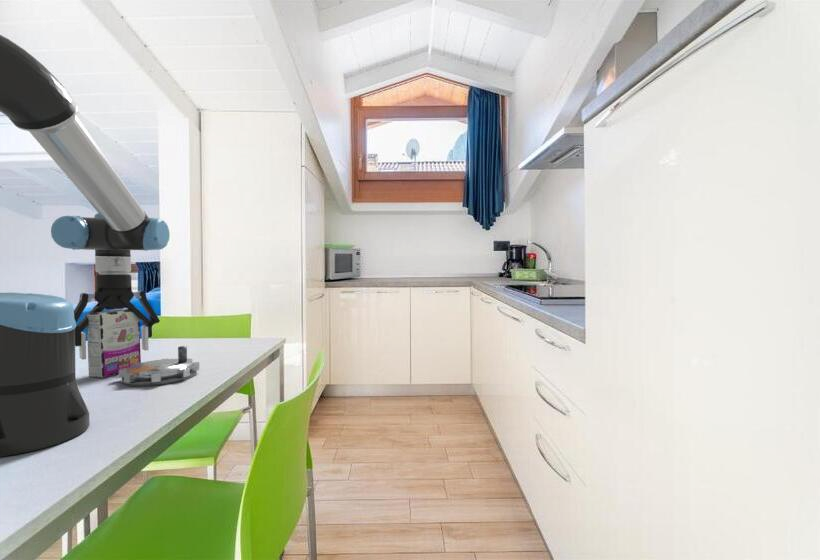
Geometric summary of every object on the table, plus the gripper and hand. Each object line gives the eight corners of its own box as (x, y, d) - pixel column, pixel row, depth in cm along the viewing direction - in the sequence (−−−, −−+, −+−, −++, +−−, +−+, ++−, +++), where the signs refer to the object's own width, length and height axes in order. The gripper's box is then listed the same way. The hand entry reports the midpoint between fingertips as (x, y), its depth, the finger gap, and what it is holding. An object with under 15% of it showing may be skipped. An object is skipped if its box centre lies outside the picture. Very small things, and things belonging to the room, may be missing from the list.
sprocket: (110, 386, 89) (110, 360, 89) (126, 368, 105) (126, 345, 104) (197, 377, 97) (197, 353, 96) (200, 362, 112) (200, 341, 112)
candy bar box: (126, 366, 111) (125, 307, 110) (141, 367, 110) (140, 308, 109) (86, 377, 100) (85, 312, 99) (102, 378, 99) (101, 312, 98)
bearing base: (134, 390, 89) (134, 387, 89) (113, 377, 99) (113, 374, 99) (207, 376, 102) (207, 372, 102) (181, 365, 112) (181, 363, 112)
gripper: (53, 274, 92) (56, 365, 93) (171, 273, 111) (173, 348, 112) (47, 273, 97) (49, 360, 98) (161, 272, 116) (162, 344, 117)
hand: (115, 354), depth 105 cm, fingers open, 13 cm apart
